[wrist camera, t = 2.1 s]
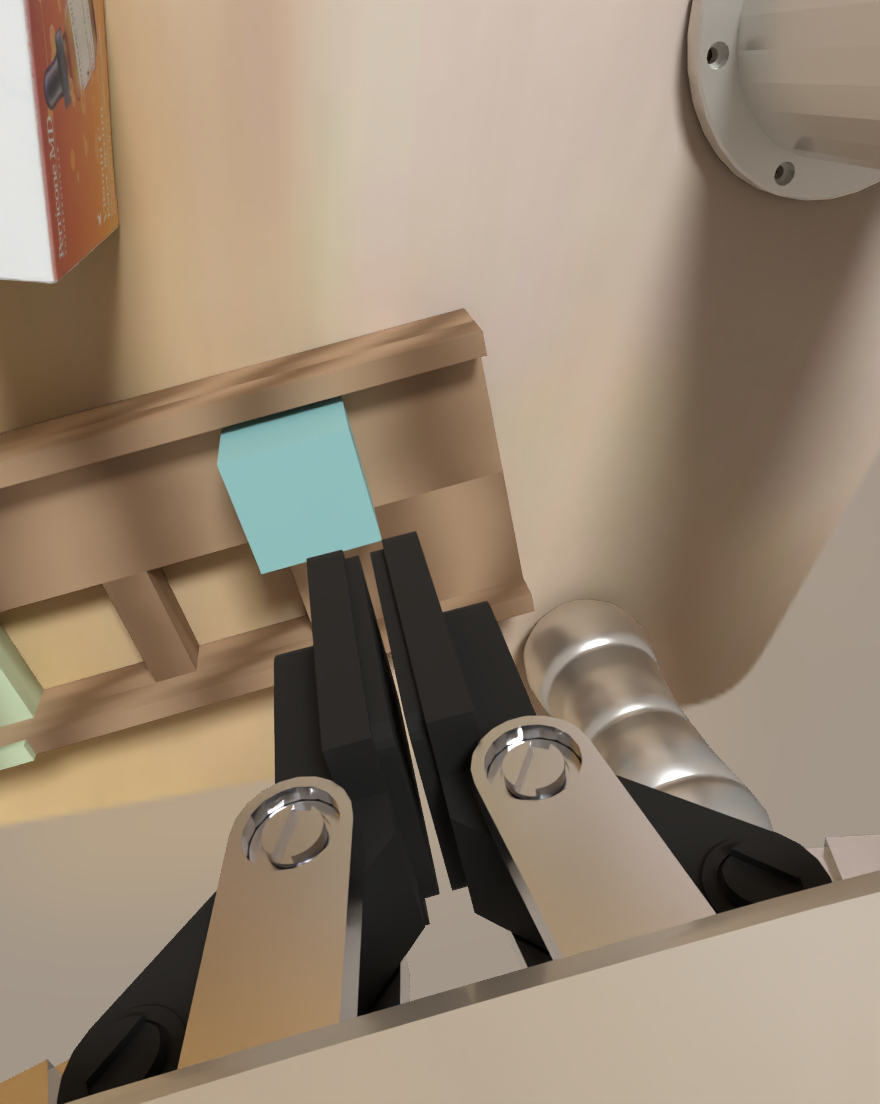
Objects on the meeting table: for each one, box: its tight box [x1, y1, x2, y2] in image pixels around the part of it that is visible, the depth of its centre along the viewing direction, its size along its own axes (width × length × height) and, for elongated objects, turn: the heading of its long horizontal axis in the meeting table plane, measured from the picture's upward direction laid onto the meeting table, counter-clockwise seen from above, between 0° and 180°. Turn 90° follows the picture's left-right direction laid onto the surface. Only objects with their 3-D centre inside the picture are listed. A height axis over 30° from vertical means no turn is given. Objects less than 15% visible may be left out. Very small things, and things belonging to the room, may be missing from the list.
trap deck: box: [0, 308, 534, 770], centre depth 35 cm, size 30×14×4 cm, turn 103°
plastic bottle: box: [524, 600, 773, 831], centre depth 36 cm, size 6×7×20 cm
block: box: [217, 395, 382, 574], centre depth 33 cm, size 5×5×4 cm
